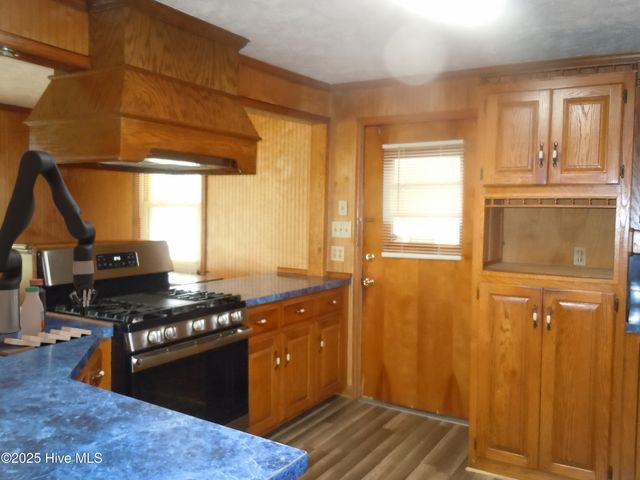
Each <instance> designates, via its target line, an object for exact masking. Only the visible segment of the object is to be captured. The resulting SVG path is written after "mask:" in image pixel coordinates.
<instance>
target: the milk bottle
mask: <svg viewBox="0 0 640 480" xmlns="http://www.w3.org/2000/svg"><path fill="white" fill-rule="evenodd" d="M24 290H25V293H24V294H25V298H24V300H23V303H22V305H21V307H20V328H21V330H20V332H21V333H20V336H21V338H22V335H27V336H36V337H38V334H39V332H40V333H45V327H44V308H43V304H42V302H41V300H40V298H39V295H38V293H39V287H30V286H27V287H25V288H24Z"/></svg>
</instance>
